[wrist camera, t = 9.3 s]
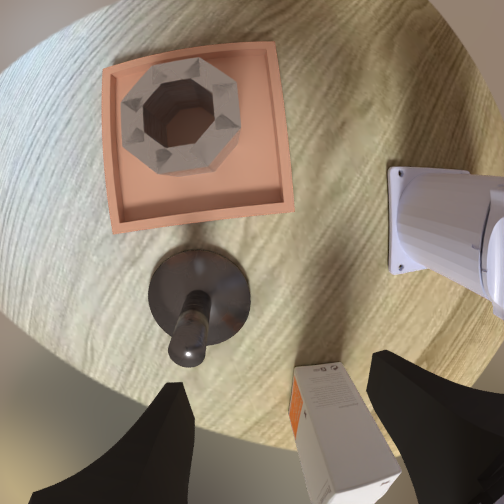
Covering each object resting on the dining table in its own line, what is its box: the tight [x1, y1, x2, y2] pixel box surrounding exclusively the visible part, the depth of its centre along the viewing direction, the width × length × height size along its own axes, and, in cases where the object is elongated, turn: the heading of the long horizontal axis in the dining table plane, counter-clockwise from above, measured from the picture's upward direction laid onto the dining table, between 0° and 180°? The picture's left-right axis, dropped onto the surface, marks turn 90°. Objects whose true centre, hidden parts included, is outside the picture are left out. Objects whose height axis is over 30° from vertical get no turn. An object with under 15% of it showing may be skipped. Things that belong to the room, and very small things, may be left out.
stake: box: [148, 249, 251, 367], centre depth 15 cm, size 7×7×6 cm
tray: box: [102, 41, 295, 234], centre depth 15 cm, size 11×11×2 cm
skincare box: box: [288, 362, 402, 504], centre depth 16 cm, size 6×4×12 cm
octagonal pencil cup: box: [121, 57, 241, 177], centre depth 13 cm, size 5×5×5 cm
